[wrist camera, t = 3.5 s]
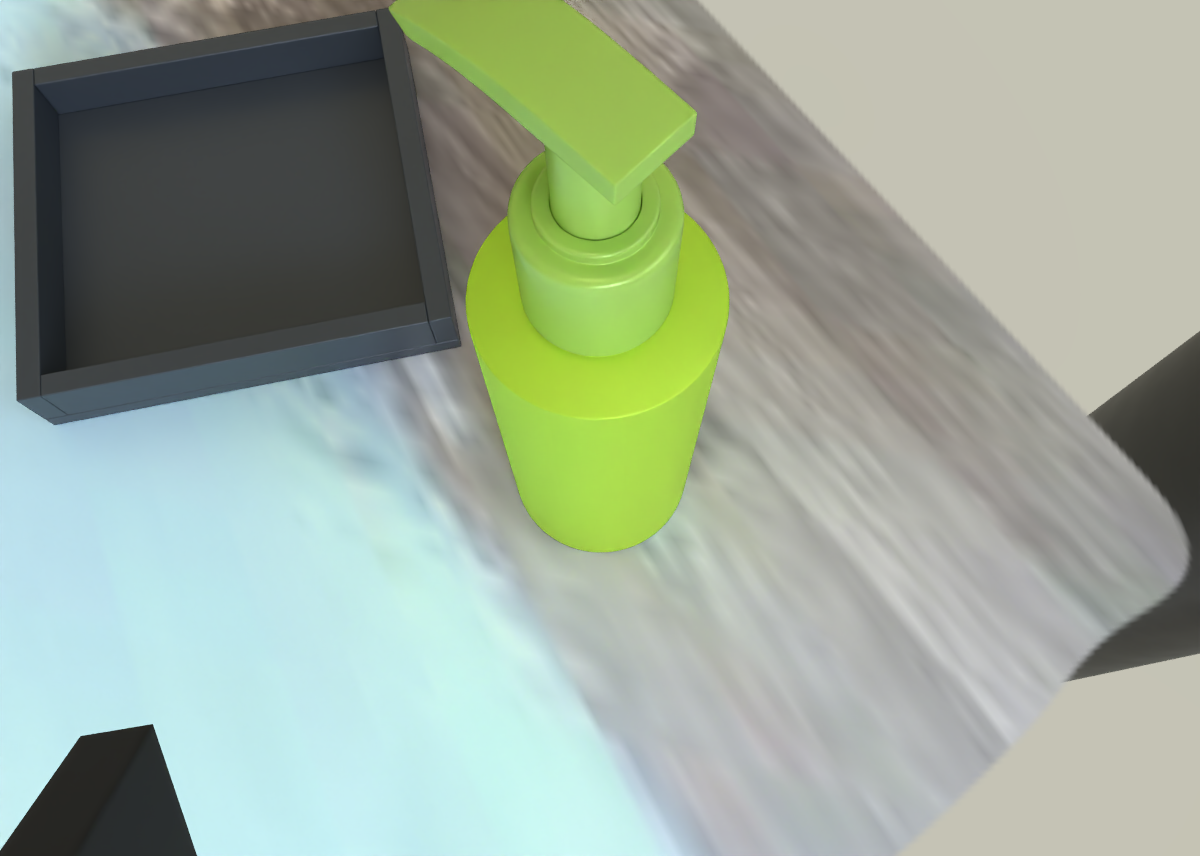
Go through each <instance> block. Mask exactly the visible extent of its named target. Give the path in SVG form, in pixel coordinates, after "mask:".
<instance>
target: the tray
mask: <svg viewBox="0 0 1200 856" xmlns="http://www.w3.org/2000/svg"><path fill="white" fill-rule="evenodd" d="M12 89H13V164H14V238H15V312H16V387H17V401H18V402H19V403H21V404H22V405H24V406H26V407H27V408H29V409H30V410H32V411H33V412H35V413H37V414H38V415H40V416H41V417H43V418H44V419H46V420H47V421H49V422H51V423H52V424H54V425H57V424H62V423H67V422H72V421H77V420H82V419H88V418H93V417H98V416H103V415H108V414H113V413H118V412H124V411H129V410H134V409H139V408H144V407H149V406H155V405H160V404H165V403H170V402H175V401H180V400H186V399H191V398H196V397H201V396H206V395H211V394H216V393H222V392H227V391H232V390H237V389H242V388H247V387H253V386H258V385H263V384H268V383H273V382H278V381H284V380H289V379H294V378H299V377H304V376H309V375H314V374H320V373H325V372H330V371H335V370H340V369H345V368H351V367H356V366H361V365H366V364H371V363H376V362H382V361H387V360H392V359H397V358H402V357H407V356H412V355H418V354H423V353H428V352H433V351H438V350H443V349H449V348H454V347H459V346H461V342H460V337H459V331H458V325H457V320H456V314H455V309H454V303H453V298H452V292H451V286H450V281H449V275H448V270H447V264H446V259H445V253H444V247H443V242H442V236H441V231H440V225H439V220H438V214H437V209H436V203H435V197H434V192H433V186H432V181H431V175H430V170H429V164H428V158H427V153H426V147H425V142H424V136H423V131H422V125H421V119H420V114H419V108H418V103H417V97H416V92H415V86H414V80H413V75H412V69H411V64H410V58H409V53H408V48H407V44H406V41H405V37H404V33H403V30H402V29H401V27H400V26H399V24H398V23H397V21H396V20H395V18H394V17H393V15H392V14H391V13H390V11H389V8H385V9H379V10H376V11H368V12H362V13H357V14H351V15H345V16H339V17H333V18H327V19H321V20H316V21H310V22H304V23H298V24H292V25H286V26H280V27H275V28H269V29H263V30H257V31H251V32H245V33H239V34H234V35H228V36H222V37H216V38H210V39H204V40H198V41H193V42H187V43H181V44H175V45H169V46H163V47H157V48H152V49H146V50H140V51H134V52H128V53H122V54H116V55H111V56H105V57H99V58H93V59H87V60H81V61H75V62H70V63H64V64H58V65H52V66H46V67H40V68H35V69H27V70H21V71H15V72H12Z"/></svg>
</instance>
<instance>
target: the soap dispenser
mask: <svg viewBox="0 0 1200 856" xmlns="http://www.w3.org/2000/svg"><path fill="white" fill-rule="evenodd" d="M389 11H390V13H391V14H392V15H393V17H394V18H395V20H396V21H397V23H398V24H399V26H400V27H401V29H402V30H403V32H404V33H405V34H406V36H408V37H409V38H410V39H411V40H413V41H414V42H416V43H417V44H419V45H420V46H422V47H423V48H425V49H426V50H428V51H430V52H431V53H433V54H434V55H436V56H437V57H439V58H440V59H441V60H443V61H444V62H446V63H447V64H448V65H450V66H451V67H452V68H454V69H455V70H456V71H458V72H459V73H460V74H462V75H463V76H464V77H465V78H467V79H468V80H469V81H470V82H472V83H473V84H474V85H475V86H477V87H478V88H479V89H480V90H481V91H483V92H484V93H485V94H486V95H487V96H489V97H490V98H491V99H492V100H493V101H495V102H496V103H497V104H498V105H499V106H500V107H502V108H503V109H504V110H505V111H506V112H507V113H509V114H510V115H511V116H512V117H513V118H514V119H515V120H517V121H518V122H519V123H520V124H521V125H522V126H523V127H525V128H526V129H527V130H528V131H529V132H530V133H532V134H533V135H534V136H535V137H536V138H537V139H538V140H540V141H541V142H542V143H543V144H544V146H545V151H544V152H542V153H541V154H539V155H538V156H537V157H536V158H534V159H533V160H532V161H531V162H530V163H529V164H528V165H527V166H526V167H525V169H524V170H523V171H522V172H521V174H520V175H519V177H518V179H517V180H516V182H515V184H514V186H513V189H512V192H511V195H510V199H509V204H508V214H507V216H506V217H505V218H504V219H503V220H502V221H501V222H500V223H499V224H498V225H497V226H496V227H495V228H494V229H493V231H492V232H491V233H490V234H489V236H488V237H487V238H486V240H485V241H484V243H483V244H482V246H481V248H480V250H479V251H478V253H477V255H476V258H475V260H474V262H473V265H472V268H471V271H470V274H469V278H468V283H467V290H466V314H467V321H468V326H469V330H470V334H471V337H472V341H473V344H474V347H475V351H476V354H477V357H478V360H479V364H480V367H481V370H482V373H483V377H484V380H485V383H486V386H487V390H488V393H489V396H490V399H491V403H492V406H493V409H494V412H495V416H496V419H497V422H498V425H499V429H500V432H501V435H502V438H503V442H504V445H505V448H506V451H507V455H508V458H509V461H510V465H511V468H512V471H513V474H514V478H515V481H516V484H517V487H518V491H519V494H520V497H521V500H522V502H523V504H524V506H525V508H526V510H527V512H528V513H529V515H530V516H531V518H532V519H533V520H534V522H535V523H536V524H537V525H538V526H539V527H540V528H541V529H542V530H543V531H544V532H545V533H547V534H548V535H549V536H551V537H552V538H554V539H555V540H557V541H559V542H561V543H563V544H565V545H567V546H569V547H572V548H575V549H579V550H583V551H589V552H612V551H618V550H623V549H626V548H629V547H632V546H635V545H637V544H639V543H641V542H643V541H645V540H646V539H648V538H650V537H651V536H652V535H654V534H655V533H656V532H657V531H659V530H660V529H661V528H662V527H663V526H664V525H665V524H666V522H667V521H668V520H669V519H670V517H671V516H672V514H673V513H674V511H675V510H676V508H677V506H678V504H679V501H680V499H681V496H682V493H683V490H684V486H685V482H686V478H687V474H688V471H689V467H690V463H691V459H692V456H693V452H694V448H695V444H696V440H697V437H698V433H699V429H700V425H701V421H702V418H703V414H704V410H705V406H706V402H707V399H708V395H709V391H710V387H711V383H712V380H713V376H714V372H715V368H716V364H717V361H718V357H719V353H720V349H721V345H722V342H723V338H724V334H725V330H726V326H727V321H728V315H729V288H728V282H727V277H726V273H725V270H724V266H723V264H722V261H721V259H720V256H719V254H718V252H717V250H716V248H715V247H714V245H713V243H712V242H711V240H710V239H709V237H708V236H707V235H706V233H705V232H704V231H703V230H702V228H701V227H700V226H699V225H698V224H697V223H696V222H695V221H694V220H693V219H692V218H691V217H690V216H688V215H687V214H686V213H685V212H684V206H683V200H682V196H681V192H680V189H679V187H678V184H677V182H676V180H675V179H674V177H673V175H672V174H671V172H670V171H669V170H668V168H667V167H666V166H665V165H664V164H663V162H664V161H665V160H667V159H668V158H669V157H670V156H671V155H672V154H673V153H674V152H675V151H677V150H678V149H679V148H680V147H681V146H682V145H683V144H684V143H685V142H686V141H688V140H689V139H690V138H691V137H692V136H693V135H694V132H695V124H696V117H697V112H696V111H695V110H694V109H693V108H691V107H690V106H689V105H688V104H687V103H686V102H685V101H683V100H682V99H681V98H680V97H679V96H678V95H677V94H675V93H674V92H673V91H672V90H671V89H670V88H669V87H667V86H666V85H665V84H664V83H663V82H662V81H661V80H659V79H658V78H657V77H656V76H655V75H654V74H652V73H651V72H650V71H649V70H648V69H647V68H646V67H644V66H643V65H642V64H641V63H640V62H639V61H637V60H636V59H635V58H634V57H633V56H631V55H630V54H629V53H628V52H627V51H626V50H624V49H623V48H622V47H621V46H620V45H618V44H617V43H616V42H615V41H614V40H612V39H611V38H610V37H609V36H608V35H606V34H605V33H604V32H603V31H602V30H600V29H599V28H598V27H597V26H595V25H594V24H593V23H592V22H590V21H589V20H588V19H587V18H585V17H584V16H583V15H581V14H580V13H579V12H578V11H576V10H575V9H574V8H572V7H571V6H570V5H568V4H567V3H565V2H564V1H563V0H396V1H395V2H394V3H393V4H392V5H391V6H390V7H389Z"/></svg>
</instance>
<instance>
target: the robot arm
mask: <svg viewBox="0 0 1200 856" xmlns="http://www.w3.org/2000/svg"><path fill="white" fill-rule="evenodd" d="M0 856H197V855H196V852H195V849H194V846H193V843H192V840H191V837H190V834H189V831H188V828H187V825H186V822H185V819H184V816H183V813H182V810H181V807H180V804H179V801H178V798H177V795H176V792H175V789H174V786H173V783H172V780H171V777H170V774H169V771H168V768H167V765H166V762H165V759H164V756H163V753H162V750H161V748H160V745H159V742H158V739H157V736H156V733H155V730H154V727H153V724H151V725H145V726H139V727H133V728H127V729H121V730H115V731H109V732H103V733H97V734H91V735H85V736H80V738H79V739H78V741H77V742H76V743H75V745H74V746H73V748H72V749H71V751H70V752H69V753H68V755H67V756H66V758H65V759H64V761H63V762H62V763H61V765H60V766H59V768H58V769H57V771H56V772H55V773H54V775H53V776H52V778H51V779H50V781H49V782H48V783H47V785H46V786H45V788H44V789H43V790H42V792H41V793H40V795H39V796H38V798H37V799H36V800H35V802H34V803H33V805H32V806H31V808H30V809H29V810H28V812H27V813H26V815H25V816H24V818H23V819H22V820H21V822H20V823H19V825H18V826H17V828H16V829H15V830H14V832H13V833H12V835H11V836H10V838H9V839H8V840H7V842H6V843H5V845H4V846H3V847H2V849H1V850H0Z"/></svg>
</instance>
